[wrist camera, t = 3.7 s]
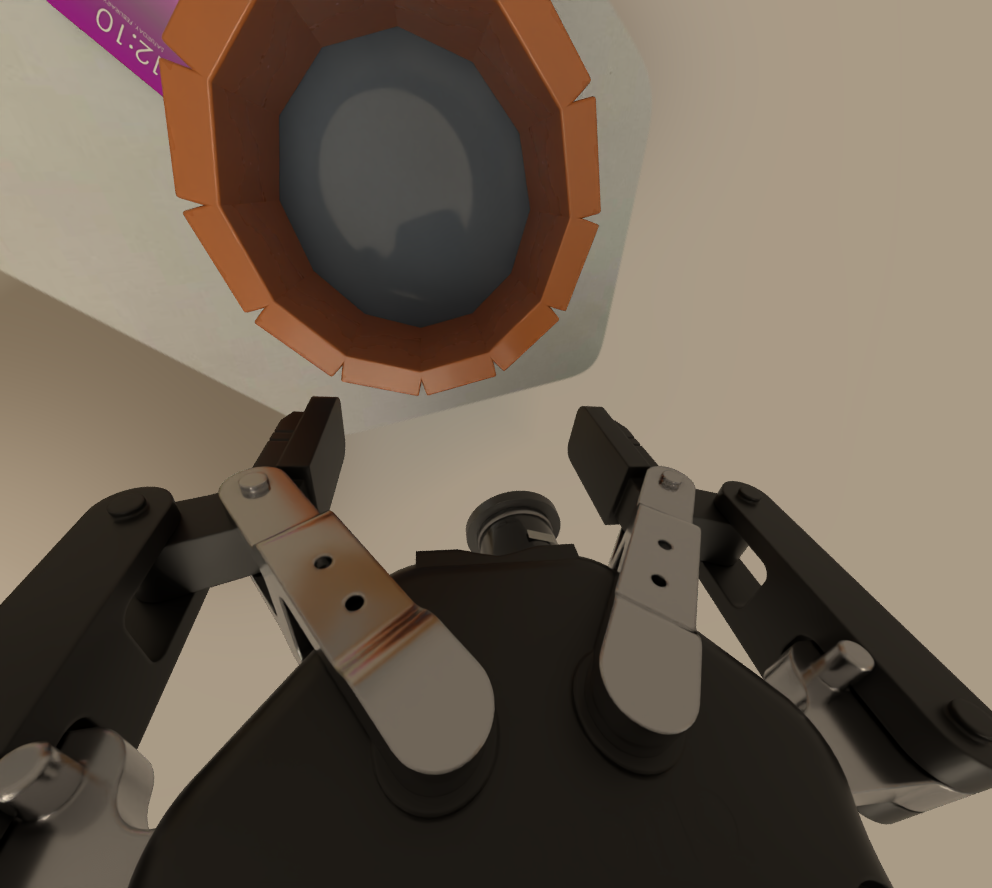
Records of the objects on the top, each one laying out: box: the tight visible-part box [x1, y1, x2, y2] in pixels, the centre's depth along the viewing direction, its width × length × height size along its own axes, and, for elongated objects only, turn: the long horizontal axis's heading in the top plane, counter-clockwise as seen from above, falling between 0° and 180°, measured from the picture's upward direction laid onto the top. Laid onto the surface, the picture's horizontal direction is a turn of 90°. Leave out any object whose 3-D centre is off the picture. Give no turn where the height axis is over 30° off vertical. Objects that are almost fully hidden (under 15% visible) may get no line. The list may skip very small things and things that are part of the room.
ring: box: [159, 0, 601, 396], centre depth 15 cm, size 13×13×6 cm
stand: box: [279, 26, 530, 328], centre depth 22 cm, size 14×14×12 cm
